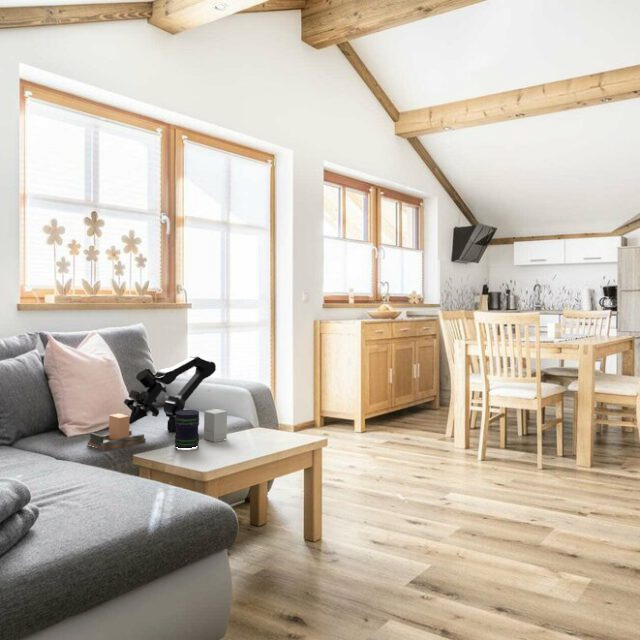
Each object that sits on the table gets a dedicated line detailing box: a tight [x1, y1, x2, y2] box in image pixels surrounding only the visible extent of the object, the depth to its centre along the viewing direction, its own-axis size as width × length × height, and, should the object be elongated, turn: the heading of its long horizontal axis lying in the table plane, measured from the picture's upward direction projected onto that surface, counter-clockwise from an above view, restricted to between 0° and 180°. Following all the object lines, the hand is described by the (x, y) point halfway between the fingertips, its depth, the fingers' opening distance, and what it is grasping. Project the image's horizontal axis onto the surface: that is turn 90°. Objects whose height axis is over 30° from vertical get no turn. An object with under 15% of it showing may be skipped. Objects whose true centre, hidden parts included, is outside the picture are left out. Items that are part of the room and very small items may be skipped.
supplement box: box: [203, 408, 228, 442], centre depth 284 cm, size 7×7×13 cm
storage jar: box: [174, 409, 200, 448], centre depth 270 cm, size 10×10×15 cm
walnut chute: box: [87, 429, 147, 452], centre depth 273 cm, size 20×12×6 cm, turn 141°
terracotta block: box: [108, 413, 130, 440], centre depth 273 cm, size 5×7×10 cm
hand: (129, 423), depth 277 cm, fingers closed
